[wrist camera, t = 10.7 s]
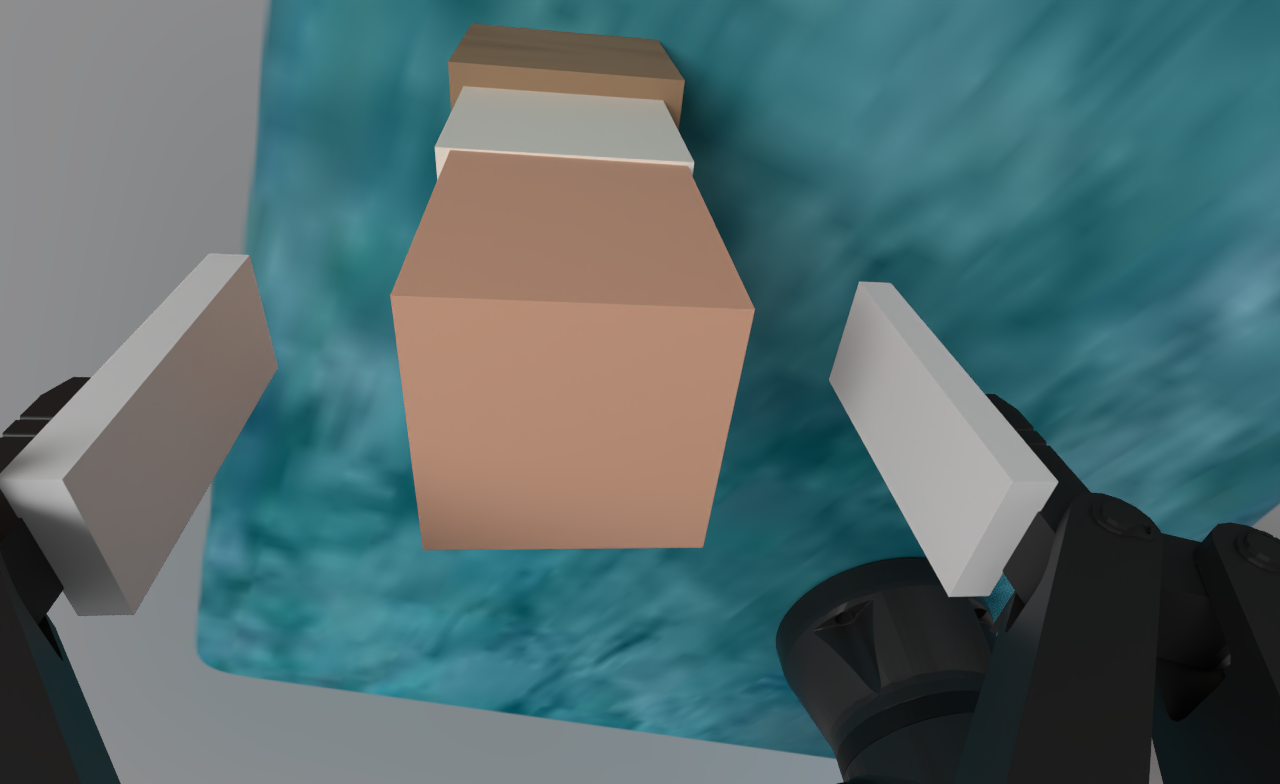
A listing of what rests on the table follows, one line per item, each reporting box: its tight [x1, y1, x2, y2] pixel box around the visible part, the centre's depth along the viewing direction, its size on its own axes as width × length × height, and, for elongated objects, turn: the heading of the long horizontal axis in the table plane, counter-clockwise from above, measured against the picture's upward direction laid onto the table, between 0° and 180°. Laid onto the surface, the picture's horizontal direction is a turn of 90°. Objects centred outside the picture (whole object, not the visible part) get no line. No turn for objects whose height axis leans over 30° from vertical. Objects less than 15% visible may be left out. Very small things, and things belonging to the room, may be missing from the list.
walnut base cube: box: [448, 24, 685, 131], centre depth 25 cm, size 7×7×7 cm
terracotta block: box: [390, 150, 755, 550], centre depth 15 cm, size 6×6×7 cm
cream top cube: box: [435, 86, 694, 180], centre depth 20 cm, size 6×6×6 cm
